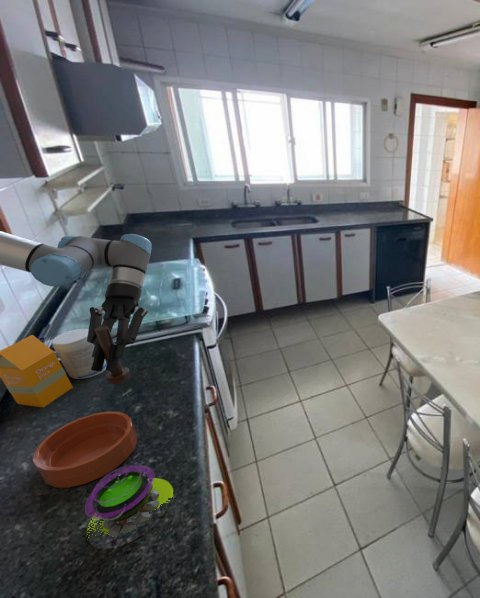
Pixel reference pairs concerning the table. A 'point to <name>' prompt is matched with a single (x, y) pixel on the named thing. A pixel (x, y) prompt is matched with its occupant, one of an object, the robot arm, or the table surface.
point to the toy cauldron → (127, 500)
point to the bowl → (85, 449)
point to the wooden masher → (106, 344)
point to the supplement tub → (76, 353)
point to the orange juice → (33, 373)
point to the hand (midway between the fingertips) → (103, 370)
